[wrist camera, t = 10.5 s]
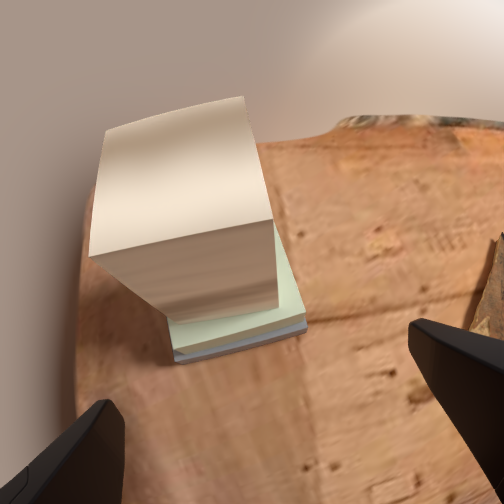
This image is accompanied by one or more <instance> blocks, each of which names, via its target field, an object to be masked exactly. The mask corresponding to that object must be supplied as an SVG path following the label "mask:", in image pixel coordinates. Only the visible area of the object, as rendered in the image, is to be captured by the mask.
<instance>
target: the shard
mask: <svg viewBox="0 0 504 504" xmlns="http://www.w3.org/2000/svg"><path fill="white" fill-rule="evenodd" d="M468 331H471V332H474V333H478V334H482V335H485V336H489V337H493V338H496V339H500V340H504V234H503V232H502V233H501V236H500V237H499V239H498V240H497V242H496V248H495V252H494V258H493V264H492V270H491V271H490V273H489V276H488V280H487V284H486V286H485V289H484V292H483V295H482V298H481V300H480V302H479V304H478V306H477V309H476V313H475V315H474V320H473V322H472V324H471V326H470V328H469V330H468Z"/></svg>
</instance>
